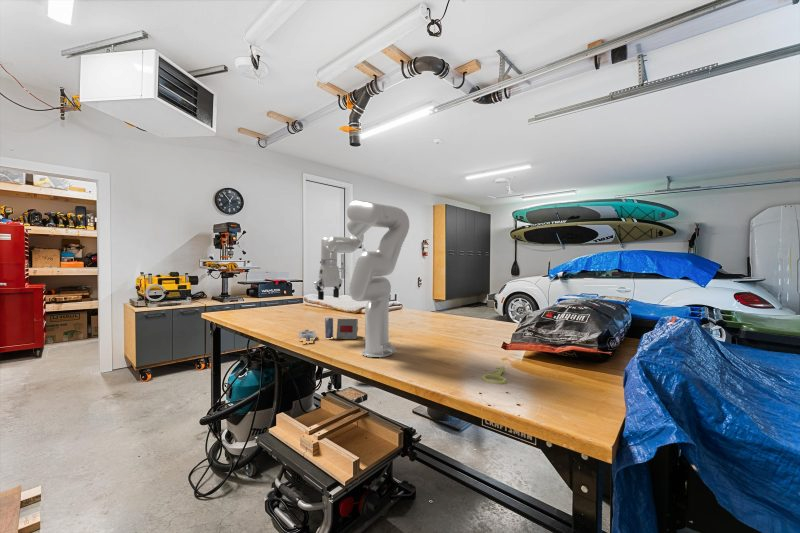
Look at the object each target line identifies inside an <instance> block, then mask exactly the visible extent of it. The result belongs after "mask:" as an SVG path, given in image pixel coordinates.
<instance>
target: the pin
mask: <svg viewBox="0 0 800 533" xmlns="http://www.w3.org/2000/svg"><path fill="white" fill-rule="evenodd" d="M324 325H325V326H324V332H325V333H324V334H325V335H324V336H325V337H326V338H331V337H333V338H334V317H326V318H324Z"/></svg>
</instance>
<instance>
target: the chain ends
mask: <svg viewBox="0 0 800 533" xmlns="http://www.w3.org/2000/svg"><path fill="white" fill-rule="evenodd" d="M302 331H303V332H302ZM302 331H298V340H299V339H301V338H306V341H310V338H316V336H317V333H316V330H312V331H309V329H305V330H302ZM316 339H317V338H316ZM311 341H314V342H315V340H313V339H311Z"/></svg>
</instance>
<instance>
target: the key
mask: <svg viewBox="0 0 800 533" xmlns="http://www.w3.org/2000/svg"><path fill="white" fill-rule="evenodd" d="M496 369H497V370H498V371H497V372H495V373H494V374H493V373H492V374H491V373H486V374H483V375H482V377H481V378H482V380H483V381H484V382H487V383H491V384H495V385H505V384H506V383H507V379H506V377H504V376H502V373H503V372H504V371H505V370H506V367H505V366H503V365H502V366H496ZM490 379H496V380H490ZM498 380H500V381H498Z"/></svg>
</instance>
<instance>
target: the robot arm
mask: <svg viewBox="0 0 800 533" xmlns="http://www.w3.org/2000/svg"><path fill="white" fill-rule="evenodd" d="M346 215H347V218H348V219H349V220H348V221H347V222H346V227H347V230H348V232H349V233H350V234H351V235H350V237H348V236H330V237H329V236H327V237H326V236H325V237H322V239H321V247H320V248H321V249H320V251H321V253H320V258H321V259H320V261H319V264H320V267H319V269H318V279H317V280H315V281H314V282H313V285H314V288H315V289H316V291H317V300H320V301H324V298H325V294H324V293H325V291H324V290H325V288H332V287H333V290H332V291H333V294H332V296H333V298H336V299H337V298H339V296H340V290H341V287H342V284H343V282H344V281H343V279H341V278H340V269H339V265H338V254H352V253H354V252H355V251H356V250H358V249H359V248H360V247H361V246H362V244H363V242H364V240H365V239H364V238H365V236H364V234H365V233H367V231H368V230H369V229H370V228H372V227H373V228H374V227H375V228H386V229H388V231H386V232H385V233H384V235H383V236H382V237H381V239H380V242H379V244H378V248H377V250H375V251H373V250H371V251H364V252H363V253H361V254H360V255H359V256H358V258H357V259H356V263H355V266H354V270H353V272H352V277H351V279H350V283H349V288H348V289H349V290H348V291H349V295H350V297H351V298H352V300H353V301H355V302H367V303H366V306H365V310H364V312H365V314H364V315H365V316H364V317H365V318H364V319H365V320H364V322H365V324H364V326H365V330H364V331H365V334H364V335H365V336H364V338H365V348H363V349H362V350H361V355H362V354H363V355H364V357H366V356H367V357H366V358H372V357H379V358H386V357H389V356H392V354H394V353H395V352H396V350H397V347H396V346H392V342H390V341H389V340H390V338H389V336H390V335H389V332H390V330H389V327H390V326H389V325H390V324H389V323H390V322H389V319H390V318H389V316H390V315H389V310H390V309H389V308H390V307H389V305H390V304H389V303H390V297H391V292H392V289H391V288H392V285H391V282H390V280H389V279H388V278H387V277H385V276H388V275H391V274H392V273H393V272H394V271H395V267H396V266H397V265H396V264H397V263H398V262H397V261H398V258H399V256H400V253H401V249H402V247H403V245H404V242H405V240H406V238H407V237H408V236H407V235H408V233H409V230H410V219H409V216H408V214H407V212H406V211H404V210H403V209H402V208H400V207H398V206H392V205H385V204H380V203H375V202H371V201H366V200H361V199H360V200H359V199H355V200H353V201H351V202H350V203H349V204H348V206H347V210H346ZM363 355H362V356H363Z"/></svg>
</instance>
